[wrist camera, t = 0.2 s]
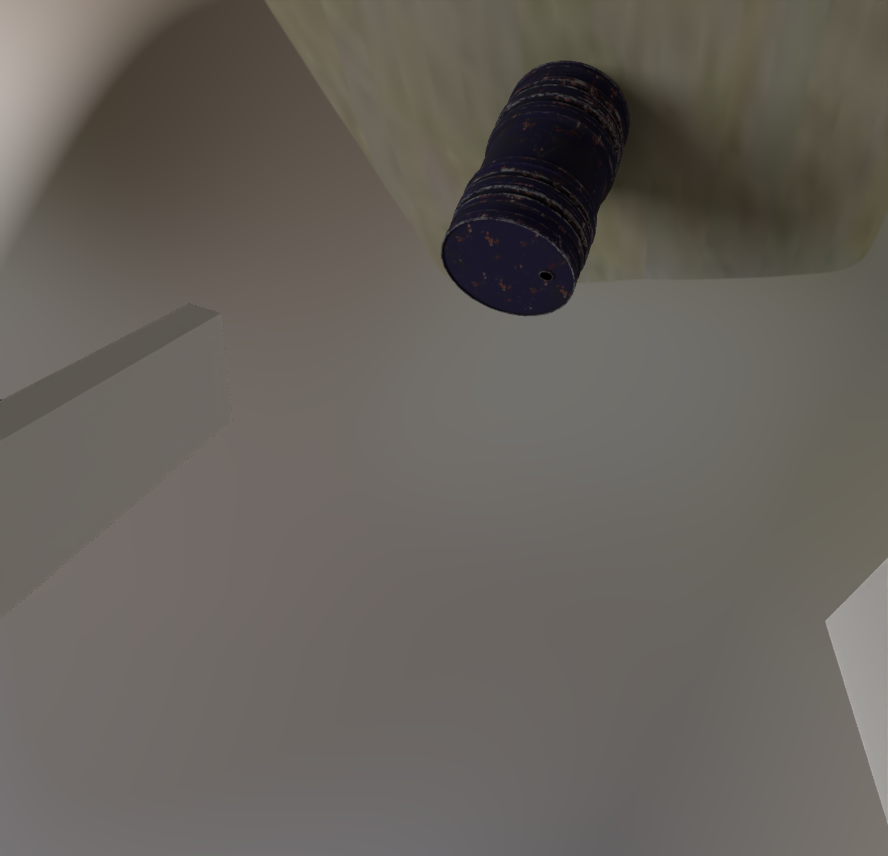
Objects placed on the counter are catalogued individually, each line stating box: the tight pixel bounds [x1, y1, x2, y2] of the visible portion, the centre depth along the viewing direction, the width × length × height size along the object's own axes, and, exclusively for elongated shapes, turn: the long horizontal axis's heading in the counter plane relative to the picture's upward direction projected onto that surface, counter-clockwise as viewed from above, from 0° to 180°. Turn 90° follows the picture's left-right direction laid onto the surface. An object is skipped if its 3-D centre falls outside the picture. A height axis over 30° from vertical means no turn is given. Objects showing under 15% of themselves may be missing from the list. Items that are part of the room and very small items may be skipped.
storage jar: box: [441, 61, 630, 316], centre depth 40 cm, size 10×10×15 cm
